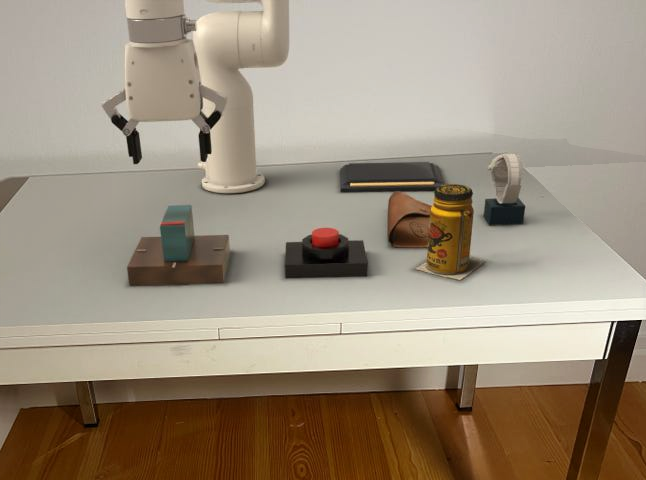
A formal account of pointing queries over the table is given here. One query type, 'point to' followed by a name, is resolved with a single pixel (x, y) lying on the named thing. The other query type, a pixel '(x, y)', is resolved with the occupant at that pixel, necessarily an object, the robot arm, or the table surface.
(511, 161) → the watch
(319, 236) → the button
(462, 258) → the condiment
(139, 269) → the base
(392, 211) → the sunglasses case
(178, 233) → the teal rectangular block
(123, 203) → the table surface
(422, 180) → the wallet
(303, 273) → the button box
